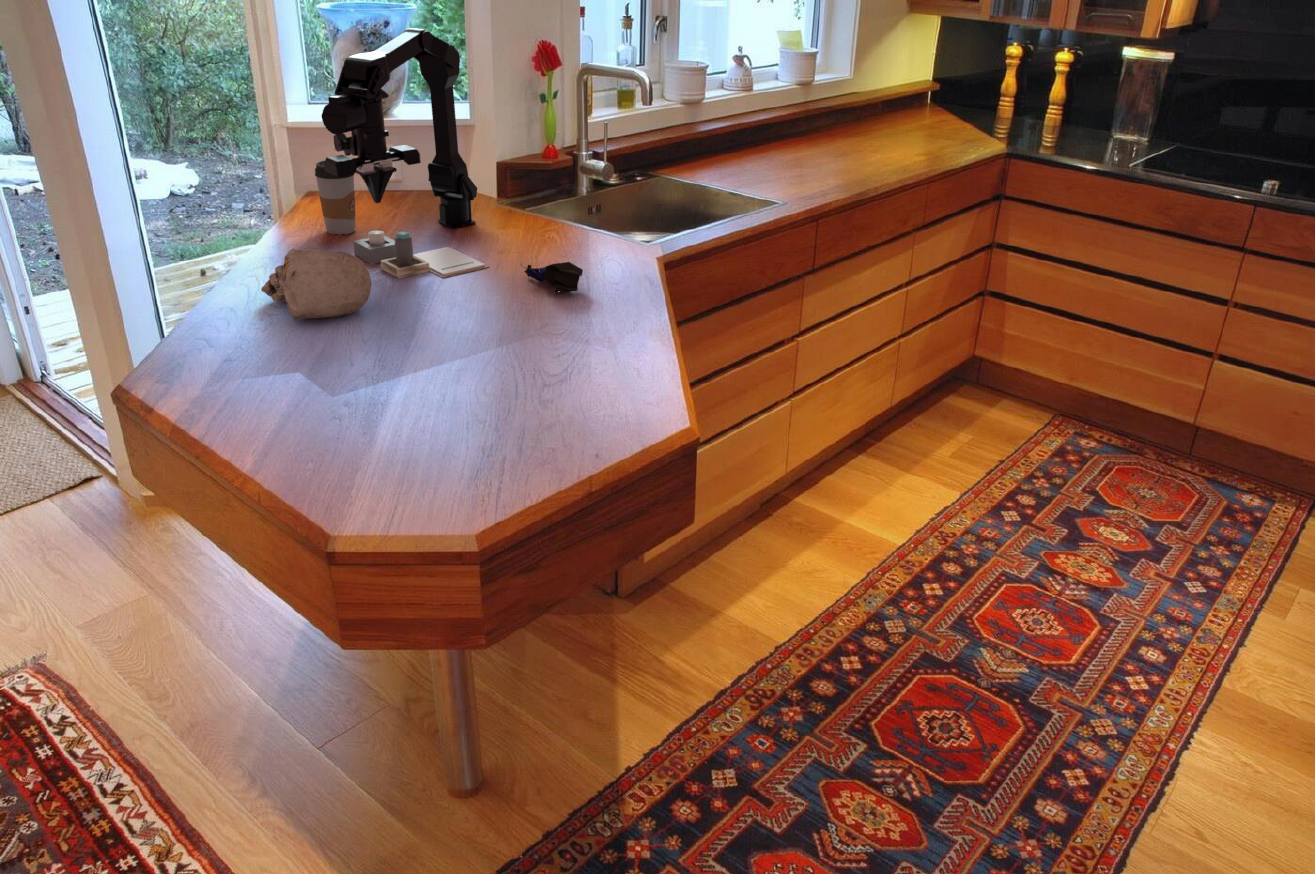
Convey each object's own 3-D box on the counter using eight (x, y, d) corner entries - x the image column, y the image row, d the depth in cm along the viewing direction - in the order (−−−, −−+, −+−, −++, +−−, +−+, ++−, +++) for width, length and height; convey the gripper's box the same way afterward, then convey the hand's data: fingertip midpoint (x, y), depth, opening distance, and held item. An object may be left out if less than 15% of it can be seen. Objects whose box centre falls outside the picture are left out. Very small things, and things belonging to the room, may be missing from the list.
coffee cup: (349, 238, 222) (342, 170, 214) (314, 234, 223) (306, 166, 216) (366, 227, 229) (360, 161, 221) (332, 223, 230) (325, 157, 223)
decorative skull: (254, 241, 185) (273, 252, 168) (351, 240, 193) (378, 251, 177) (259, 308, 188) (277, 326, 172) (354, 305, 197) (381, 322, 180)
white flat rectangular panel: (449, 248, 218) (448, 245, 218) (489, 267, 209) (489, 264, 208) (403, 258, 211) (403, 255, 211) (442, 278, 202) (442, 275, 201)
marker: (409, 263, 207) (406, 230, 204) (417, 268, 205) (414, 234, 201) (394, 266, 205) (391, 232, 202) (401, 271, 203) (398, 237, 199)
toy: (553, 264, 207) (595, 266, 196) (549, 295, 208) (590, 298, 196) (515, 257, 201) (555, 257, 190) (511, 288, 202) (550, 291, 190)
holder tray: (411, 262, 209) (410, 254, 209) (429, 271, 205) (429, 263, 204) (381, 269, 205) (380, 260, 204) (399, 278, 201) (398, 269, 200)
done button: (380, 243, 213) (379, 229, 212) (388, 247, 211) (386, 233, 210) (366, 246, 211) (365, 232, 210) (374, 250, 209) (372, 236, 208)
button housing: (384, 248, 216) (383, 235, 215) (401, 257, 212) (400, 243, 210) (354, 254, 212) (353, 241, 211) (371, 263, 208) (370, 249, 206)
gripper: (389, 112, 209) (396, 186, 216) (305, 123, 197) (316, 201, 205) (418, 121, 202) (424, 198, 210) (333, 134, 190) (343, 214, 198)
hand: (377, 202), depth 206 cm, fingers closed
